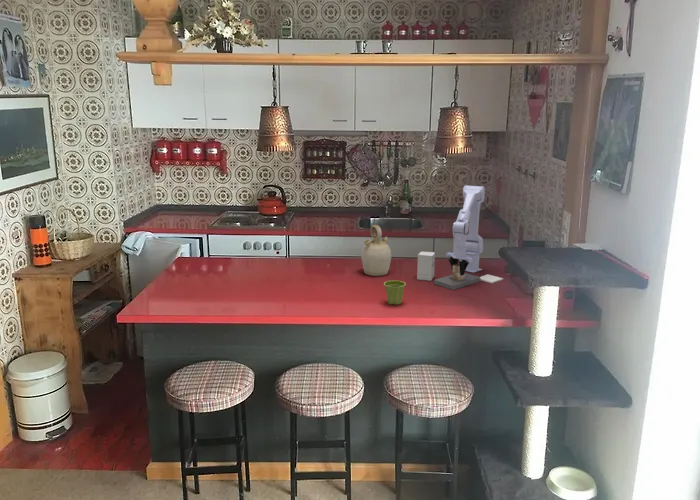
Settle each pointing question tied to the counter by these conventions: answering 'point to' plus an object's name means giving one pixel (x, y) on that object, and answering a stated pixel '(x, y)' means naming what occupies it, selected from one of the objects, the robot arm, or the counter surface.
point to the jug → (376, 254)
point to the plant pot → (394, 291)
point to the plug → (457, 273)
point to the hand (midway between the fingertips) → (458, 273)
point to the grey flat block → (454, 284)
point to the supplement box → (425, 265)
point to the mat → (490, 278)
